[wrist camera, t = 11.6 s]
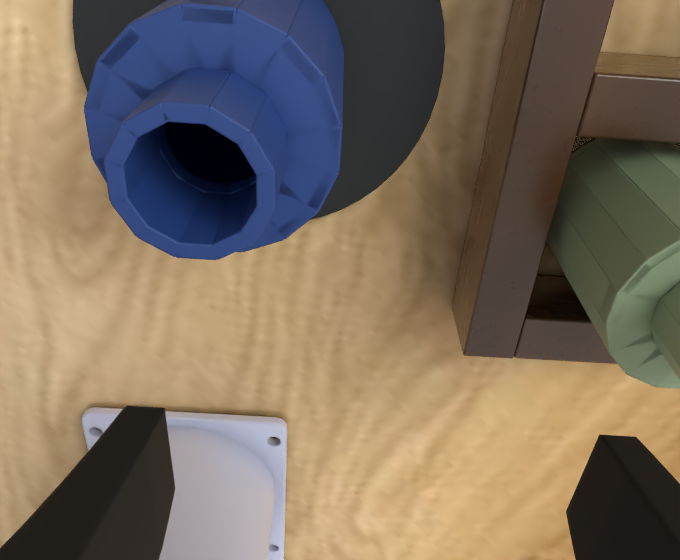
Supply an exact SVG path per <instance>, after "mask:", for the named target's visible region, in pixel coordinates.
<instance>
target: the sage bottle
mask: <svg viewBox="0 0 680 560" xmlns="http://www.w3.org/2000/svg"><path fill="white" fill-rule="evenodd" d="M546 242H547V244H548V246H549V247H550V249H551V251H552V253H553V254H554V256H555V258H556V260H557V262H558V263H559V265H560V267H561V269H562V270H563V272H564V274H565V276H566V277H567V279H568V281H569V283H570V285H571V286H572V288H573V290H574V292H575V293H576V295H577V297H578V299H579V300H580V302H581V304H582V306H583V308H584V309H585V311H586V313H587V315H588V316H589V318H590V320H591V322H592V323H593V325H594V327H595V329H596V331H597V332H598V334H599V336H600V338H601V339H602V341H603V343H604V345H605V346H606V348H607V350H608V352H609V354H610V355H611V356H612V357H613V358H614V360H615V361H616V362H617V363H618V364H619V366H620V367H621V368H622V369H623V371H624V372H625V373H626V374H627V375H629V376H631V377H634V378H636V379H638V380H641V381H643V382H645V383H647V384H650V385H652V386H654V387H661V388H678V389H680V148H679V147H678V146H676V145H675V144H673V143H660V142H646V141H631V140H616V139H601V138H597V139H595V140H593V141H591V142H589V143H587V144H585V145H583V146H582V147H580V148H579V149H577V150H576V151H575V152H573V153H572V154H571V155H570V159H569V163H568V166H567V170H566V173H565V177H564V180H563V184H562V187H561V191H560V194H559V198H558V201H557V205H556V209H555V212H554V216H553V219H552V223H551V226H550V230H549V233H548V237H547V240H546Z"/></svg>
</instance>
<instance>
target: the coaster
mask: <svg viewBox="0 0 680 560" xmlns="http://www.w3.org/2000/svg"><path fill="white" fill-rule="evenodd" d="M165 1H167V0H73V30H74V40H75V49H76V53H77V58H78V62H79V66H80V71H81V74H82V77H83V80H84V83H85V86H86V89H87V91H89V87H90V83H91V79H92V76H93V72H94V68H95V64H96V62H97V61H98V58H99V57H100V56H101V55H102V54H103V52H104V51H105V50H106V49H107V48H108V47H109V46H110V45H111V43H112V42H113V41H114V40H115V39H116V38H117V37H118V36H119V34H120V33H121V32H122V31H123V30H124V29H125V28H126V27H127V25H128V24H129V23H131V22H132V21H134V20H136V19H137V18H139V17H140V16H142V15H144V14H145V13H147V12H149V11H150V10H152V9H154V8H155V7H157V6H159V5H160V4H162V3H164V2H165ZM323 1H324V3H325V4H326V6H327V7H328V8H329V10H330V12H331V14H332V16H333V18H334V20H335V22H336V25H337V27H338V30H339V33H340V37H341V41H342V46H343V49H344V80H343V125H342V141H341V156H340V170H339V173H338V177H337V178H336V180H335V182H334V184H333V186H332V188H331V190H330V192H329V194H328V196H327V197H326V199H325V201H324V203H323V205H322V207H321V209H320V211H319V212H318V213H317V214H316V215H315V216H314V217H312V218H311V219H314V218H319V217H322V216H325V215H328V214H331V213H333V212H336V211H339V210H341V209H343V208H345V207H347V206H349V205H351V204H353V203H355V202H357V201H359V200H360V199H362V198H363V197H365V196H366V195H368V194H369V193H371V192H372V191H373V190H375V189H376V188H378V187H379V186H380V185H381V184H382V183H383V182H384V181H385V180H387V179H388V178H389V177H390V176H391V175H392V174H393V173H394V172H395V171H396V170H397V169H398V167H399V166H400V165H401V164H402V163H403V162H404V160H405V159H406V158H407V157H408V155H409V154H410V152H411V151H412V149H413V148H414V146H415V145H416V143H417V142H418V140H419V139H420V137H421V135H422V133H423V131H424V129H425V127H426V125H427V123H428V121H429V119H430V116H431V113H432V110H433V108H434V105H435V102H436V99H437V96H438V91H439V87H440V82H441V77H442V72H443V61H444V50H445V45H444V21H443V15H442V9H441V3H440V0H323Z"/></svg>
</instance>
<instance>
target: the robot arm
mask: <svg viewBox="0 0 680 560" xmlns="http://www.w3.org/2000/svg"><path fill="white" fill-rule="evenodd" d="M81 422H82V426H83V431H84V435H85V439H86V444H87V448H88V452H87V453H86V455H85V456H84V457H83V458H82V459H81V460H80V462H79V463H78V464H77V465H76V466H75V468H74V469H73V470H72V471H71V472H70V473H69V475H68V476H67V477H66V478H65V479H64V480H63V481H62V482H61V484H60V485H59V486H58V487H57V488H56V489H55V490H54V491H53V492H52V494H51V495H50V496H49V497H48V498H47V499H46V500H45V501H44V502H43V504H42V505H41V506H40V507H39V508H38V509H37V510H36V511H35V512H34V514H33V515H32V516H31V517H30V518H29V519H28V520H27V521H26V522H25V523H24V524H23V525H22V526H21V528H20V529H19V530H18V531H17V532H16V533H15V534H14V535H13V536H12V537H11V538H10V539H9V540H8V541H7V542H6V543H5V544H4V545H3V546H2V547H1V548H0V560H284V539H285V501H286V463H287V423H286V422H285V421H284V420H283V419H281V418H277V417H265V416H247V415H228V414H210V413H192V412H173V411H165V408H154V407H138V406H127V407H126V408H124V409H119V408H100V407H92V408H89V409H86V411H85V412H84V414H83V416H82V419H81ZM95 427H96V428H95ZM97 428H99V429H97ZM271 437H277V439H274V438H271ZM566 514H567V519H568V524H569V529H570V534H571V539H572V544H573V549H574V554H575V558H576V560H680V484H679V483H678V481H677V480H676V479H675V478H674V477H673V476H672V475H671V474H670V473H669V472H668V471H667V469H666V468H665V467H664V466H663V465H662V464H661V463H660V462H659V461H658V460H657V459H656V458H655V456H654V455H653V454H652V453H651V452H650V451H649V450H648V449H647V448H646V447H645V446H644V445H643V444H642V443H641V442H640V441H639V440H638V439H637V438H636V437H629V436H612V435H599V437H598V440H597V442H596V444H595V446H594V449H593V451H592V453H591V456H590V458H589V460H588V462H587V465H586V467H585V469H584V472H583V474H582V476H581V478H580V481H579V483H578V485H577V488H576V490H575V492H574V495H573V497H572V499H571V501H570V504H569V506H568V508H567V511H566Z"/></svg>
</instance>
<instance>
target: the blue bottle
mask: <svg viewBox="0 0 680 560" xmlns="http://www.w3.org/2000/svg"><path fill="white" fill-rule="evenodd" d="M343 80H344V49H343V46H342V41H341V37H340V33H339V30H338V27H337V25H336V22H335V20H334V18H333V16H332V14H331V12H330V10H329V8H328V7H327V6H326V4H325V3H324V1H323V0H167V1H165V2H164V3H162V4H160V5H159V6H157V7H155V8H154V9H152V10H150V11H149V12H147V13H145V14H144V15H142V16H140V17H139V18H137V19H136V20H134V21H132V22H131V23H129V24H128V25H127V27H126V28H125V29H124V30H123V31H122V32H121V33H120V34H119V36H118V37H117V38H116V39H115V40H114V41H113V42H112V43H111V45H110V46H109V47H108V48H107V49H106V50H105V51H104V52H103V54H102V55H101V56H100V57H99V58H98V61H97V62H96V64H95V68H94V72H93V76H92V79H91V83H90V87H89V91H88V94H87V98H86V102H85V106H84V108H85V109H84V112H85V118H86V124H87V131H88V137H89V143H90V149H91V155H92V157H93V160H94V162H95V164H96V165H97V167H98V169H99V170H100V172H101V174H102V176H103V177H104V179H105V181H106V182H107V186H108V193H109V199H110V201H111V204H112V205H113V207H114V208H115V209H116V211H117V212H118V213H119V215H120V216H121V217H122V219H123V220H124V221H125V223H126V224H127V225H128V226H129V228H130V229H131V230H132V232H133V233H134V234H135V235H136V236H137V237H138V238H139V239H141V240H143V241H145V242H147V243H149V244H151V245H153V246H154V247H156V248H158V249H160V250H162V251H164V252H166V253H168V254H170V255H171V256H173V257H175V256H176V257H177V258H191V259H207V260H216V259H221V258H223V257H225V256H227V255H230V254H232V253H234V252H242V251H243V252H245V251H249V250H252V249H255V248H259V247H262V246H265V245H269V244H272V243H275V242H279V241H282V240H284V239H286V238H287V237H289V236H290V235H291V234H292V233H294V232H295V231H296V230H297V229H299V228H300V227H301V226H302V225H304V224H305V223H306V222H307V221H309V220H310V219H311V218H312V217H314V216H315V215H316V214H317V213H318V212H319V211H320V209H321V207H322V205H323V203H324V201H325V199H326V197H327V196H328V194H329V192H330V190H331V188H332V186H333V184H334V182H335V180H336V178H337V177H338V173H339V170H340V156H341V141H342V125H343Z"/></svg>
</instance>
